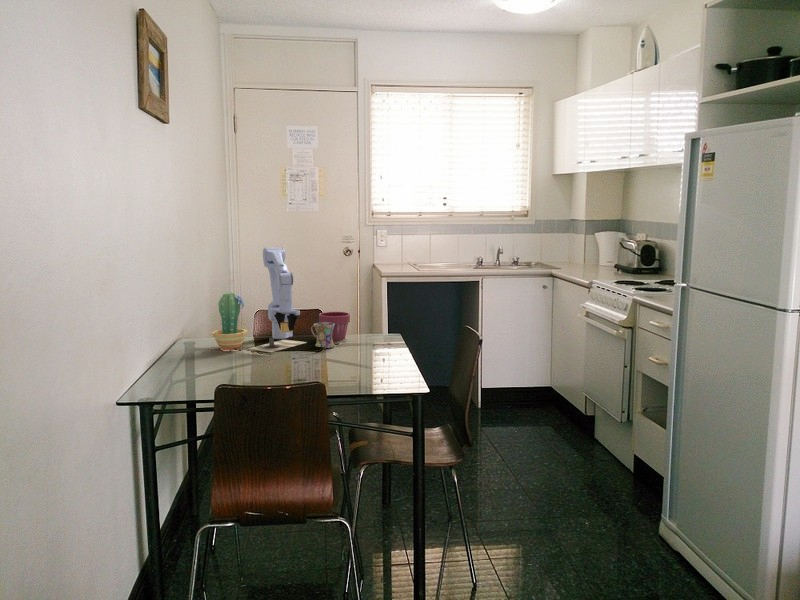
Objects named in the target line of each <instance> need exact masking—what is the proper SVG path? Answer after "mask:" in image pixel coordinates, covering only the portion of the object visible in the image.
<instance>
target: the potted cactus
mask: <svg viewBox="0 0 800 600" xmlns="http://www.w3.org/2000/svg"><path fill="white" fill-rule="evenodd" d="M217 304H218V313H219V316H220V318H221V329H216V330H212V331H211V334H212V337H213V338H214V339H215V342H216V344H217V345H218V347H219V349H220V348H221V349H223V350H237V349H239V348H240V347H241V346H242V345H243V343H244V341H245V339H246V336H247V335H248V330H247V329H244V328H238V321H239V315H240V312H241V310H243V309H244V307H245V301H244V299H243V298H242V297H241V295H236V294H235V293H233V292H226V293H223V294H222V296H221V297H220V299H219V300H218V302H217ZM237 351H238V350H237Z"/></svg>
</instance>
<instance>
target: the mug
mask: <svg viewBox="0 0 800 600" xmlns="http://www.w3.org/2000/svg"><path fill="white" fill-rule="evenodd" d="M334 325H335V324H334V323H330V322H321V323H320V322H315V323H313V325H312V326H311V328H310V331H311V333H312V335H313V336H314V338H316V341H315V342H316V343H315V344H314V346H315V347H317V348H318V347H319V348H321V350H326V348H328V349H331V348H334V347H335V343H334V340H332V332H333V328H334ZM313 327H314V330H315V333H314V330H313Z"/></svg>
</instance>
